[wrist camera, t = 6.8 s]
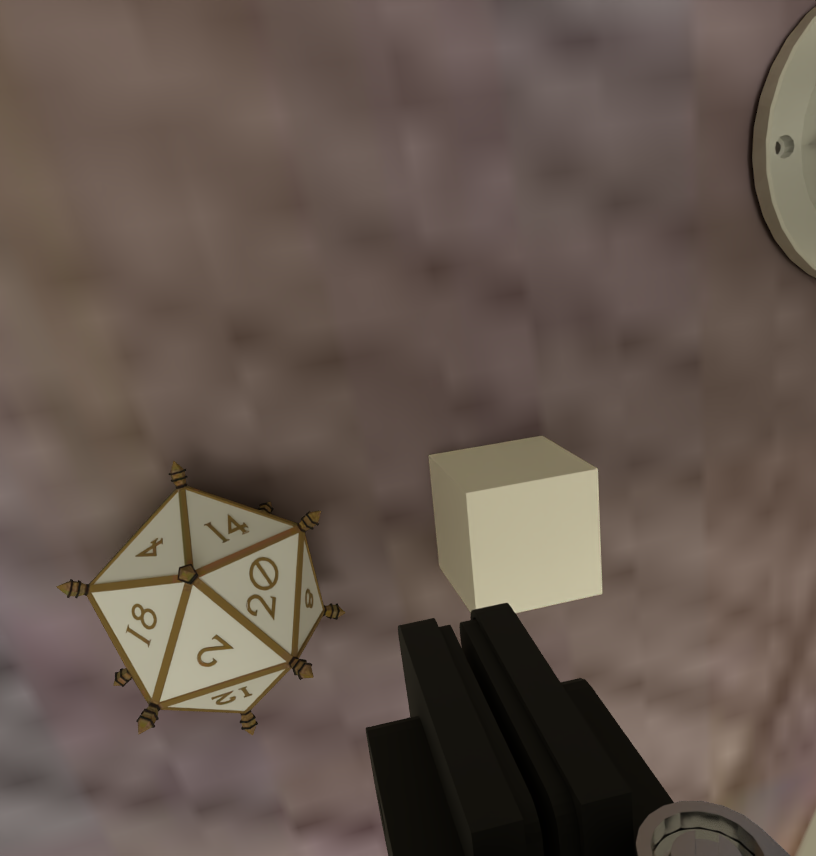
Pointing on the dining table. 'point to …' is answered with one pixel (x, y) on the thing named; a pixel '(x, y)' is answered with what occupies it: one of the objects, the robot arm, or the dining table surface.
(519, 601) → the off-white block
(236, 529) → the game die
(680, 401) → the dining table surface
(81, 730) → the dining table surface
